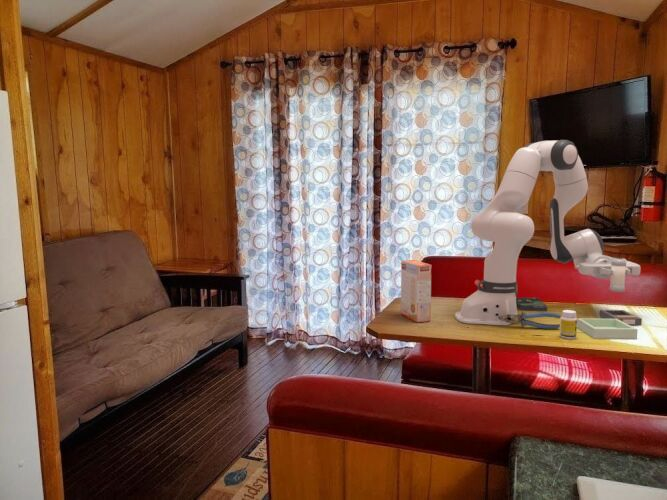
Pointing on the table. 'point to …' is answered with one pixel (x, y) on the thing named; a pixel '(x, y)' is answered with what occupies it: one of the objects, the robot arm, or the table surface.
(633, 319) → the dark grey tray
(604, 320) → the tray
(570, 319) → the supplement bottle
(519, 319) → the pliers
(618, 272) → the fuse
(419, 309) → the cracker box
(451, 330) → the table surface
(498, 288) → the robot arm
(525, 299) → the disk drive
